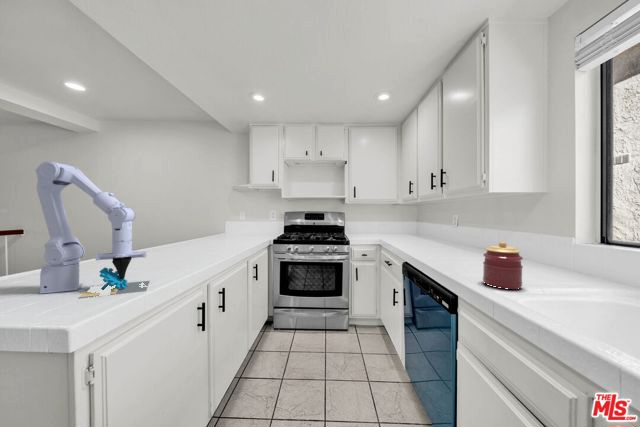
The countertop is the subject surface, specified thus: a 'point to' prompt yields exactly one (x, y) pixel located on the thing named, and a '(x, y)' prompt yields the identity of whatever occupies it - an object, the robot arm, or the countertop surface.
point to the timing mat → (129, 288)
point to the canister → (503, 267)
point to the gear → (112, 279)
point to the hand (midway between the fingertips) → (122, 278)
